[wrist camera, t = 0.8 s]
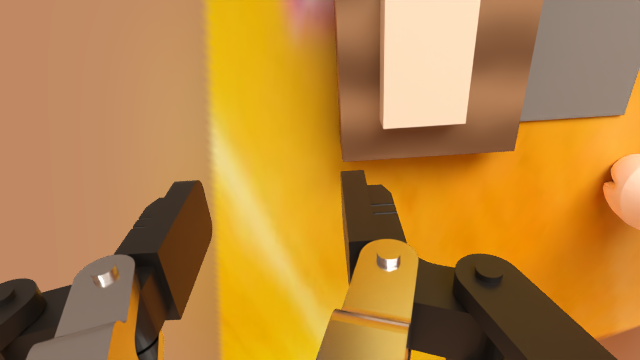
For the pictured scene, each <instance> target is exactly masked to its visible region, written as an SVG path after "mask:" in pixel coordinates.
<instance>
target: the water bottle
mask: <svg viewBox="0 0 640 360" xmlns="http://www.w3.org/2000/svg"><path fill="white" fill-rule="evenodd" d="M611 176H612V178H613V180H614V182H605V183H604V186H603V191H604V196H605V199H606V201H607V203H608V204H609V206H610V208H611V209H612V210H613V211H614V212H615V213H616V214H617V215H618V216H619V217H620V218H621V219H622V220H623V221H624V222H625V223H627V224H628V225H630V226H632V227H634V228H636V229H638V230H640V154H630V155H628V156H625V157H622V158H621V159H619V160H618V161H617V162H615V163H614V165H613V166H612V168H611Z"/></svg>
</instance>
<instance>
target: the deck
mask: <svg viewBox="0 0 640 360" xmlns="http://www.w3.org/2000/svg"><path fill="white" fill-rule="evenodd" d="M542 5H543V0H481V1H480V10H479V18H478V26H477V34H476V42H475V50H474V58H473V67H472V75H471V83H470V91H469V99H468V107H467V115H466V124H452V125H437V126H422V127H406V128H391V129H383V127H382V124H381V122H380V0H334V14H335V35H336V57H337V79H338V101H339V123H340V143H341V151H342V159H343V162H347V161H363V160H379V159H394V158H410V157H426V156H442V155H457V154H473V153H489V152H505V151H514V149H515V144H516V139H517V134H518V128H519V123H520V118H521V113H522V108H523V103H524V98H525V92H526V87H527V82H528V77H529V72H530V67H531V62H532V56H533V51H534V46H535V41H536V36H537V31H538V26H539V21H540V15H541V10H542Z"/></svg>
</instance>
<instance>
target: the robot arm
mask: <svg viewBox="0 0 640 360" xmlns="http://www.w3.org/2000/svg"><path fill="white" fill-rule="evenodd" d="M341 195H342V216H343V230H344V241H345V251H346V261H347V271H348V281H349V289H348V292H347V295H346V298H345V301H344V304H343V307H342V309H341V310H340V309H335V310H334V311H333V313H332V315H331V318H330V321H329V324H328V326H327V329H326V332H325V335H324V338H323V341H322V344H321V347H320V349H319V352H318V355H317V358H316V360H410V359H411V350H416V351H420V352H424V353H428V354H432V355H436V356H440V357H444V358H446V360H617V359H616V358H615V357H614V356H613V355H612V354H611V353H610V352H608V351H607V350H606V349H605V348H604V347H603V346H602V345H600V343H599V342H597V341H596V340H595V339H594V338H593V337H592V336H591V335H590V334H589V333H588V332H586V331H585V330H584V329H583V328H582V327H581V326H580V325H579V324H578V323H576V322H575V321H574V320H573V319H572V318H571V317H570V316H569V315H568V314H567V313H565V312H564V311H563V310H562V309H561V308H560V307H559V306H558V305H557V304H556V303H554V302H553V301H552V300H551V299H550V298H549V297H548V296H547V295H546V294H544V293H543V292H542V291H541V290H540V289H539V288H538V287H537V286H536V285H535V284H533V283H532V282H531V281H530V280H529V279H528V278H527V277H526V276H525V275H524V274H522V273H521V272H520V271H519V270H518V269H517V268H516V267H515V266H513V265H512V264H511V263H509V262H508V261H506V260H504V259H502V258H499V257H497V256H493V255H488V254H472V255H468V256H465V257H463V258H461V259H460V260H459V261H458V262H457V264H456V267H455V268H453V267H448V266H442V265H437V264H432V263H429V262H427V261H424V260H422V259H420V258H419V257H418V255H417V253H416V251H415V250H414V249H413V248H412V247H411V246H410V245H408V244H407V242H406V239H405V236H404V233H403V229H402V226H401V223H400V220H399V217H398V214H397V211H396V207H395V205H394V201H393V198H392V195H391V193H390V192H389V191H388V190H387V189H386V188H385V187H384V186H382V185H367V183H366V179H365V174H364V171H363V170H358V171H342V172H341ZM211 237H212V221H211V217H210V213H209V209H208V205H207V201H206V198H205V193H204V189H203V186H202V183H201V182H200V181H199V180H196V181H180V182H174V183H173V185H172V186H171V188H170V189H169V191H168V192H167V194H166V196H165V197H164V198H159V199H157V200H156V201H154V202H153V203H152V204H150V205H149V206H148V207H146V208H145V210H144V211H143V213H142V214H141V216H140V217H139V220H137V222H136V223H135V224H134V226H133V229H131V230H130V232H129V233H128V235H127V236H126V237H125V239H124V240H123V242H122V243H121V245H120V246H119V248H118V249H117V250H116V252H115V253H114V255H111V256H106V257H103V258H100V259H98V260H96V261H94V262H92V263H90V264H88V265H87V266H86V267H84V268H83V269H82V270H81V271H80V272H79V273H78V274H77V275H76V277H75V278H74V281H73V284H72V285H69V286H65V287H61V288H58V289H54V290H50V291H46V292H43V293H41V292H40V290H39V288H38V287H37V285H36V283H35V282H34V281H33V280H30V279H15V280H11V281H7V282H4V283H1V284H0V360H164V336H163V333H162V330H161V328H162V326H163V323H164V321H165V320H180V319H181V318H182V315H183V312H184V309H185V307H186V304H187V302H188V299H189V296H190V294H191V291H192V289H193V286H194V283H195V281H196V278H197V275H198V273H199V270H200V267H201V265H202V262H203V259H204V257H205V254H206V252H207V249H208V246H209V244H210V241H211Z"/></svg>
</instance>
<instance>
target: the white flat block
mask: <svg viewBox="0 0 640 360" xmlns="http://www.w3.org/2000/svg"><path fill="white" fill-rule="evenodd" d="M480 1H481V0H380V122H381V124H382V127H383V129H391V128H406V127H422V126H437V125H452V124H466V115H467V107H468V99H469V91H470V83H471V75H472V67H473V58H474V50H475V42H476V34H477V26H478V18H479V10H480Z"/></svg>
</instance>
